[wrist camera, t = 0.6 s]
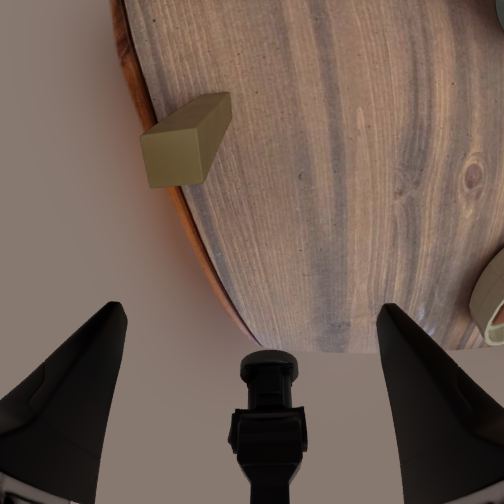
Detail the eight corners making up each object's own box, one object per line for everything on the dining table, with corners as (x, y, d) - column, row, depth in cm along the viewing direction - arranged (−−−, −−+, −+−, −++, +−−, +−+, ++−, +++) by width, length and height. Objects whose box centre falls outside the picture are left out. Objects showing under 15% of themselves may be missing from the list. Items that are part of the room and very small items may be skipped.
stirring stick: (232, 118, 18) (204, 184, 9) (204, 120, 18) (149, 189, 9) (230, 91, 17) (196, 127, 8) (201, 94, 17) (138, 135, 8)
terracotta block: (497, 304, 28) (507, 321, 25) (483, 307, 28) (493, 325, 25) (507, 287, 26) (518, 304, 23) (492, 289, 26) (504, 307, 23)
